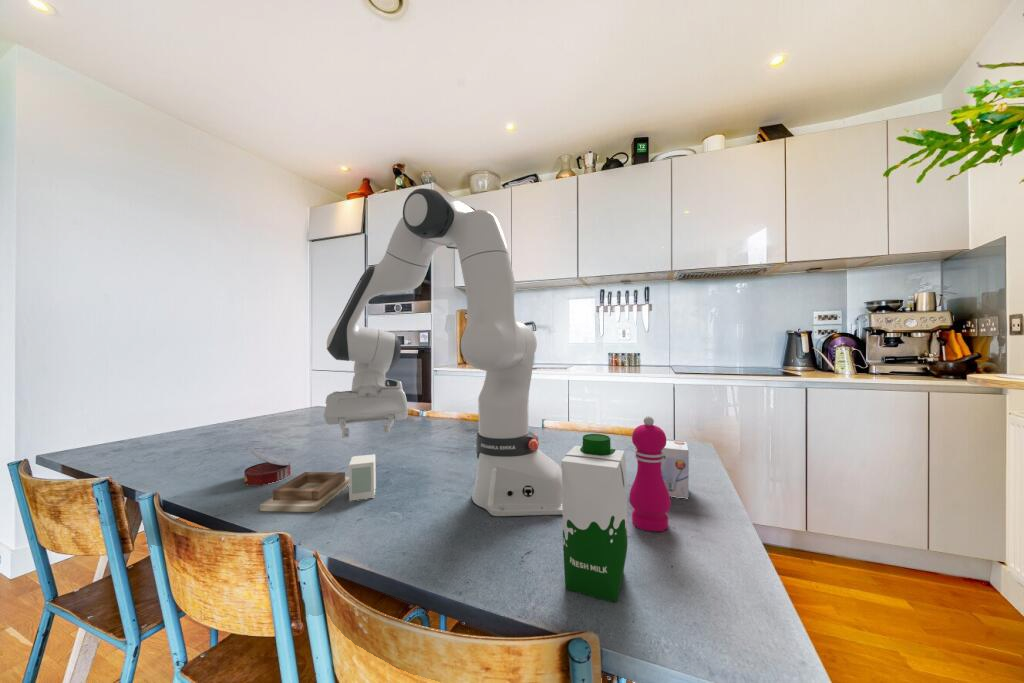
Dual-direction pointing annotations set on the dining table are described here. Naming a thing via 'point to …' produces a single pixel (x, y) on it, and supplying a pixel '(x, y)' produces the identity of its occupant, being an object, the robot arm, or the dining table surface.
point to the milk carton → (594, 517)
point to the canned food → (266, 469)
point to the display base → (306, 492)
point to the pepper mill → (649, 479)
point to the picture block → (362, 477)
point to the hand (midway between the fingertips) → (366, 434)
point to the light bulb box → (676, 468)
